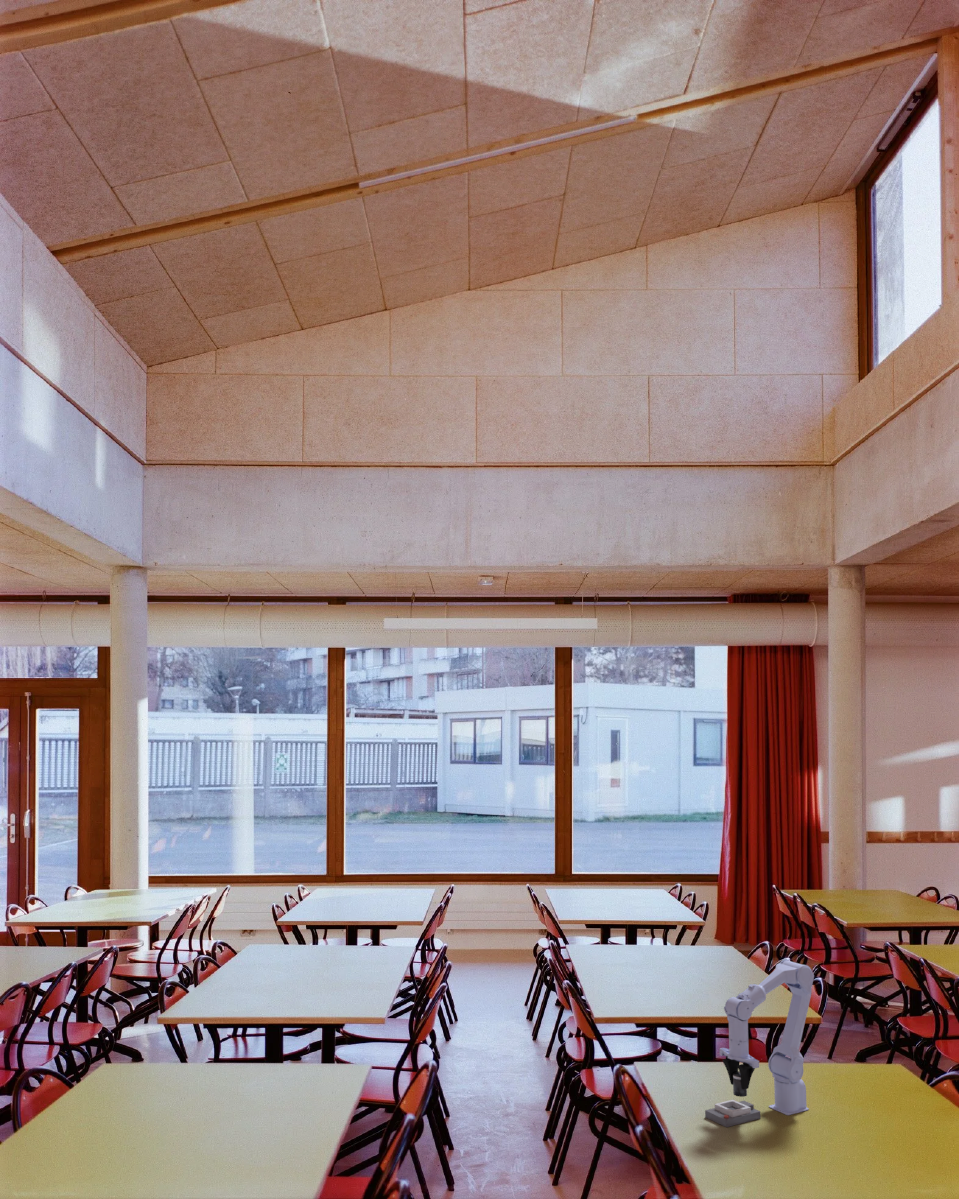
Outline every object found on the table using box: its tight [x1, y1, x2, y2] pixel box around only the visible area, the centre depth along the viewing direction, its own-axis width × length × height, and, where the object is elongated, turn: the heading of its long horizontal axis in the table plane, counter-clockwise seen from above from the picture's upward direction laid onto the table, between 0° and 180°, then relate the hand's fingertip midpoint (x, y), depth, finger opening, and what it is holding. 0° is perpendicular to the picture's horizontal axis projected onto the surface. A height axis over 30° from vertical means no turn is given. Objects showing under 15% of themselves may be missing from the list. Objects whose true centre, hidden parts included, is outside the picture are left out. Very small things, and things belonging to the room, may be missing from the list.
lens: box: [732, 1070, 748, 1098], centre depth 308 cm, size 4×4×6 cm
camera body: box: [704, 1099, 761, 1128], centre depth 308 cm, size 14×9×4 cm, turn 120°
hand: (739, 1086), depth 307 cm, fingers closed on lens, 4 cm apart
